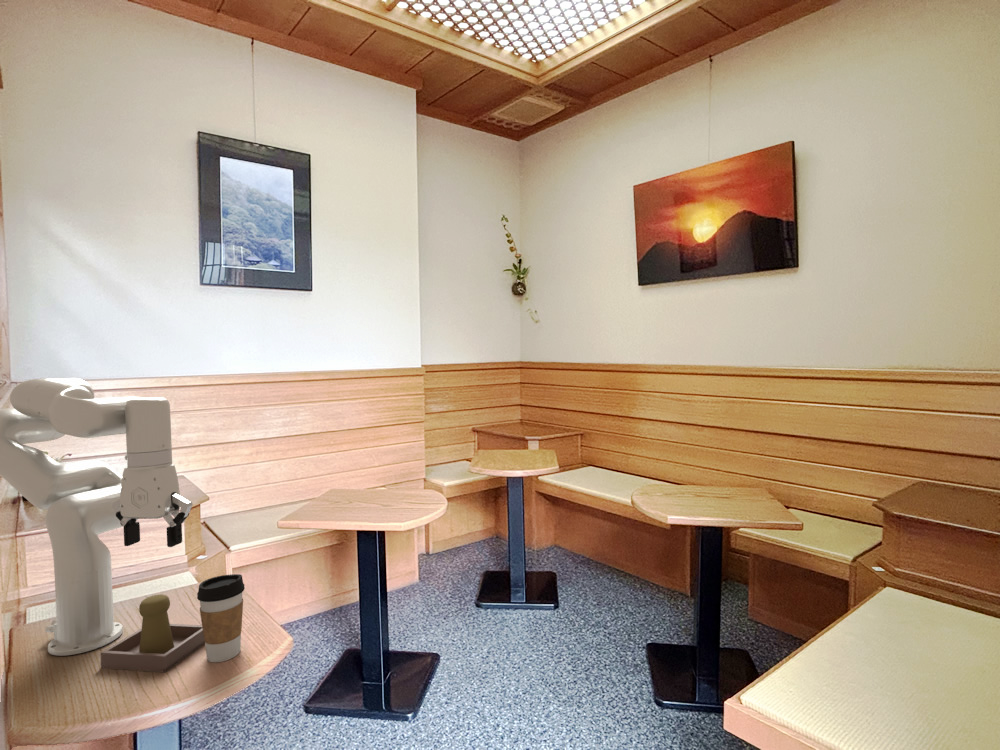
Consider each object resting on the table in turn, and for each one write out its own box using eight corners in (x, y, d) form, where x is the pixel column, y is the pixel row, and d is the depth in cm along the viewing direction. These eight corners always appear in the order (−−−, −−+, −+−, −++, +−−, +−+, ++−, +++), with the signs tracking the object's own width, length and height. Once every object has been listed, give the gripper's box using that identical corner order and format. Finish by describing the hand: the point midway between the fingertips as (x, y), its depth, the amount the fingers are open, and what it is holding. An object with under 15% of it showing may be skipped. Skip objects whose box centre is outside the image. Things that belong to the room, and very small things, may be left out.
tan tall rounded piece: (169, 640, 110) (167, 588, 110) (178, 650, 106) (175, 596, 106) (135, 652, 106) (132, 598, 106) (142, 663, 102) (140, 606, 102)
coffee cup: (227, 667, 100) (224, 589, 100) (189, 664, 102) (186, 587, 102) (256, 644, 108) (253, 572, 108) (220, 642, 110) (217, 570, 110)
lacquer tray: (101, 668, 102) (100, 652, 102) (151, 636, 113) (151, 622, 113) (165, 672, 99) (164, 656, 99) (210, 639, 111) (209, 625, 111)
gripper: (95, 462, 103) (99, 549, 103) (173, 462, 100) (177, 552, 101) (128, 456, 111) (131, 537, 111) (202, 455, 108) (205, 539, 108)
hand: (153, 544), depth 106 cm, fingers open, 9 cm apart
